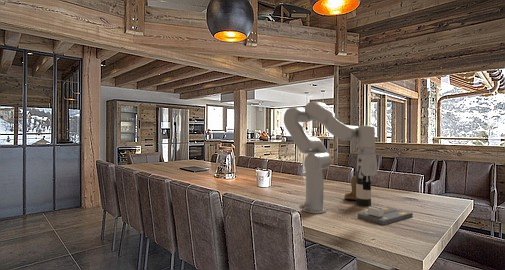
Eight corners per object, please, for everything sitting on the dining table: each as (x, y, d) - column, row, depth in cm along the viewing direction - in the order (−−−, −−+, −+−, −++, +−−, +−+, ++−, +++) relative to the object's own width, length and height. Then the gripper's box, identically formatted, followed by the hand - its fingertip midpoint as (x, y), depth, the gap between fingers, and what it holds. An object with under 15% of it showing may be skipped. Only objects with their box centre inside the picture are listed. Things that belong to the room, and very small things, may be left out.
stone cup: (368, 198, 193) (369, 175, 193) (370, 202, 181) (370, 178, 181) (344, 196, 197) (344, 174, 197) (344, 200, 186) (344, 176, 186)
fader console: (383, 225, 138) (383, 220, 138) (357, 217, 150) (357, 213, 150) (412, 216, 152) (412, 212, 152) (387, 210, 164) (387, 206, 164)
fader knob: (378, 216, 143) (378, 209, 143) (367, 213, 148) (368, 206, 148) (383, 215, 145) (383, 207, 145) (372, 212, 150) (373, 205, 150)
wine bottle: (361, 207, 171) (362, 154, 170) (353, 203, 179) (353, 153, 178) (374, 206, 173) (374, 154, 173) (365, 202, 181) (365, 153, 181)
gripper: (363, 152, 134) (363, 192, 134) (383, 151, 142) (383, 189, 143) (349, 151, 141) (349, 190, 141) (369, 150, 149) (369, 187, 149)
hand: (366, 189), depth 142 cm, fingers closed
